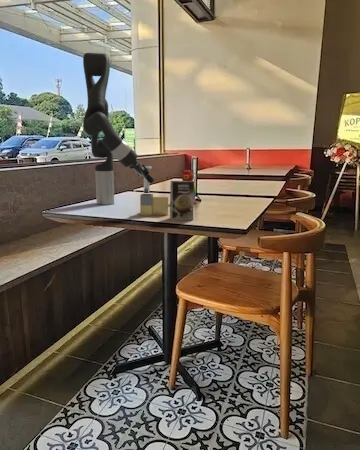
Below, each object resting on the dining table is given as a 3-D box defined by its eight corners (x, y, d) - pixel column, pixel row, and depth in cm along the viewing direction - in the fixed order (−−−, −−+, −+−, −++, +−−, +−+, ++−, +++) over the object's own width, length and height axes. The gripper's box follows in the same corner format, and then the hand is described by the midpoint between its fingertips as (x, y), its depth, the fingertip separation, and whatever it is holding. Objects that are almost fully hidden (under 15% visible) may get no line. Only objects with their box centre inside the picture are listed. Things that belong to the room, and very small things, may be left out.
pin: (142, 192, 165) (141, 166, 162) (152, 192, 164) (152, 166, 162) (140, 193, 160) (140, 166, 158) (151, 193, 160) (150, 166, 158)
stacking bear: (174, 203, 197) (174, 170, 193) (180, 200, 206) (180, 169, 202) (194, 204, 194) (194, 170, 190) (198, 201, 203) (199, 169, 199)
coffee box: (172, 221, 151) (172, 181, 148) (169, 218, 157) (169, 180, 154) (193, 220, 153) (194, 181, 149) (190, 217, 159) (190, 180, 156)
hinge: (144, 210, 174) (144, 191, 172) (169, 211, 173) (169, 192, 172) (140, 215, 162) (140, 195, 160) (167, 215, 162) (167, 195, 160)
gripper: (135, 147, 149) (163, 176, 157) (124, 147, 161) (150, 174, 169) (123, 160, 148) (151, 189, 156) (113, 159, 160) (139, 186, 168)
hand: (150, 181), depth 162 cm, fingers closed on pin, 2 cm apart
